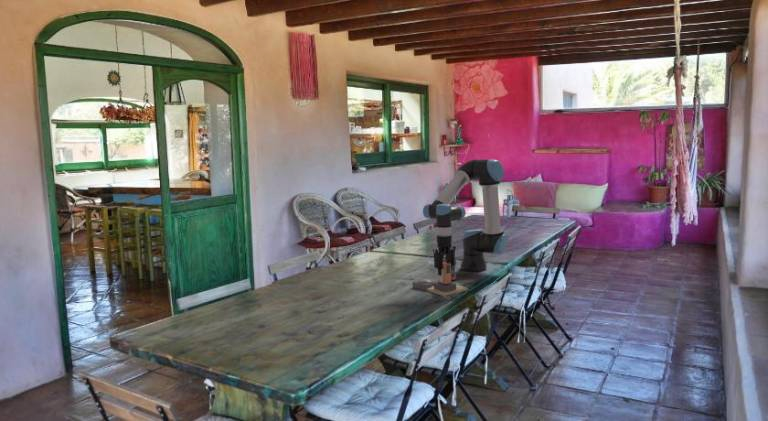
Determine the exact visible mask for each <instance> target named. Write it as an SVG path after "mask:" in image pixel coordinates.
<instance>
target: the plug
mask: <svg viewBox="0 0 768 421" xmlns="http://www.w3.org/2000/svg"><path fill="white" fill-rule="evenodd" d="M442 269H443V279H444V282H441V281H439V280H438V281H439V283H442V284H449V283H451V282H452V281H451V263H447V262H443V265H442Z"/></svg>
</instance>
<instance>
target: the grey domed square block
mask: <svg viewBox="0 0 768 421" xmlns="http://www.w3.org/2000/svg"><path fill="white" fill-rule="evenodd" d="M436 282H439V280H436V279H432V278H427V277H424V278H423V277H422V278H421V279H417V280H414V281H412V282H411V283H412V288H415V289H418V290H423V291H427V288H430V287H432V286H434V283H436ZM427 292H428V291H427Z"/></svg>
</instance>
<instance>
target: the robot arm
mask: <svg viewBox="0 0 768 421" xmlns="http://www.w3.org/2000/svg"><path fill="white" fill-rule="evenodd" d="M504 175H505V169H504V165H503V163H502V162H501V161H499V160H497V159H492V158H489V159H487V158H485V159H483V158H482V159H477V158H476V159H475V158H474V159H470V160H468V161H466V162H465V163H463V164H462V165H460V166H459V168H457V169H456V171H455V172H454V174H453V177H452V178H451V180H449V182H448V183H447V185H446V186H445V187H444V188H443V190H441V192H440V193H439V194H438V195H437V197H436V198H435V199H434V201H433V202H432V203H431V204H430V203H429V204H425V205H424V206H423V208H422V214H423V216H424V218H426V219H430V220H436V243H437V245H436V248H433V249H432V252H433V264H434V268H435V269H437V275H438V281H441V282H444V279H443V269H442V265H443V259H446V262H447V263H451V267H453V265H455V260H456V258H455V257H456V248H457V247H456V245H452V242H453V240H452V239H453V237H452V235H453V234H452V229H453V228H452V222H455V221H460V220H463V219H464V218H465V217H466V214H467V213H466V209H465V207H464V206H463V205H461V204H458V205H451V204H452V201H453V200H454V199H455V197H457V195H458V194H459V193H460V192H461V190H462V189H463V188H464V187H465V185H468V184H470V182H471V181H472V182H473V181H478V185H479V186H480V187H481V189H482V190H481V191H482V203H483V214H484V229H483V228H475V229H468V230H465V231H464V232H463V233H462V253H463V254H462V258H461V263H460V270H461V271H465V272H482V271H485V270H487V263H486V260H485V257H484V256H485V255H484V254H492V255H503V254H504V253H505V252H506V250H507V248H508V246H509V236H508V235H507V234H506V233H505V232H504V228H502V227H501V226H502V225H501V216H500V215H501V214H500V211H501V210H500V199H499V187H498V186H499V185H500V184H501V181H502V180H503V178H504ZM444 256H445V258H444Z"/></svg>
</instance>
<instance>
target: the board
mask: <svg viewBox="0 0 768 421" xmlns="http://www.w3.org/2000/svg"><path fill="white" fill-rule="evenodd" d="M466 291H469V288H468V287H465V286H462V285H459V284H457V283H455V282H452V281H451V283H449V284H442V283H439V282H436V283H434V286H432V287H430V288H427V292H431V293H433V294H437V295H440V296H442V297H447V296H450V295H454V294H458V293H462V292H466Z"/></svg>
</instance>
